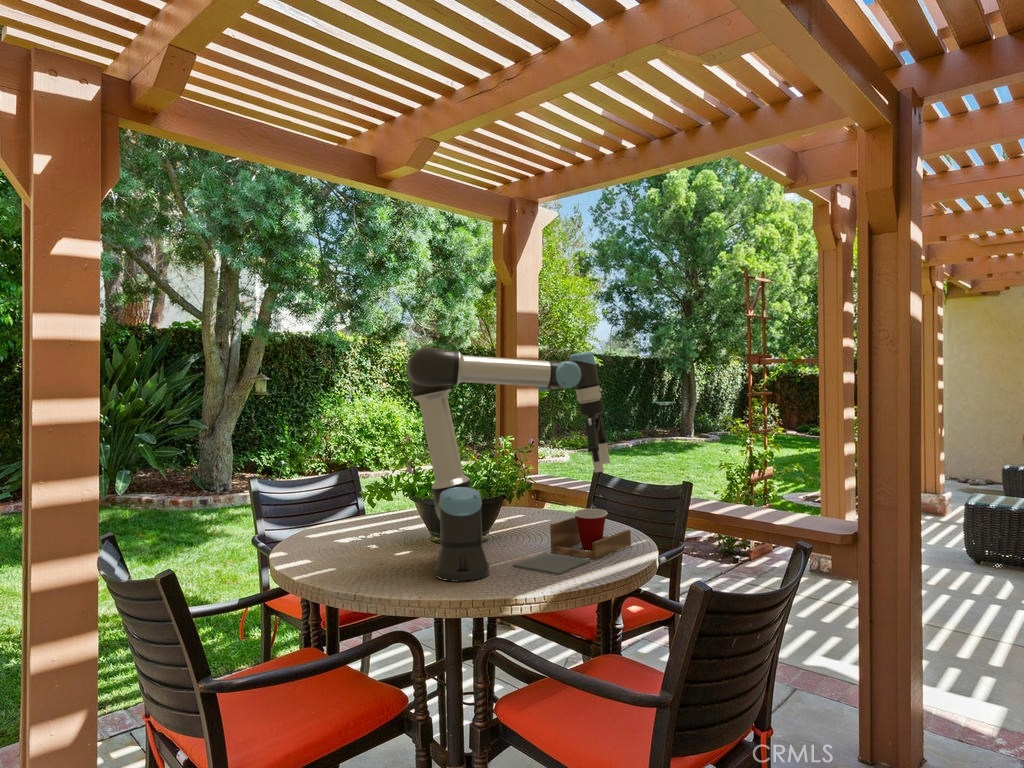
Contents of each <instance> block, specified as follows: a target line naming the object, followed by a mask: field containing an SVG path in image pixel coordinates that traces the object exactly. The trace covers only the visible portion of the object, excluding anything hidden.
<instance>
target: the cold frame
mask: <svg viewBox="0 0 1024 768" xmlns="http://www.w3.org/2000/svg"><path fill="white" fill-rule="evenodd" d="M549 525H550V526H549V529H550V530H549V531H550V533H549V534H550V554H553V555H560V556H567V555H569V556H568V557H574V556H577V557H576V558H580V557H584V558H583V559H586V558H590V559H589V560H593V559H598V560H599V558H600V559H602V558H604V557H603V556H605V555H607V556H609V555H608V554H610V553H612V554H614V553H613V552H615V551H617V550H619V551H621V550H620V549H622V548H624V549H626V548H625V547H627V546H629V547H631V546H632V539H631V538H632V537H631V534H632V533H631V529H626V530H624V531H620V532H617V533H615V534H613V535H612V534H611V535H610V536H605V535H603V539H601V540H598V541H596V542H593V543H592V549H593V551H585V550H583V549H577V548H573V547H572V546H574V545H576V546H578V545H577V544H579V545H581V544H580V543H581V539H580V535H579V530H578V524H577V521H576V517H575V516H573V517H569V518H565V519H563V520H559V521H556V522H552V523H550V524H549ZM630 545H631V546H630ZM570 547H571V548H570ZM574 547H575V546H574ZM627 548H628V547H627ZM622 550H623V549H622ZM617 552H618V551H617ZM615 553H616V552H615ZM610 555H611V554H610ZM601 557H602V558H601ZM605 557H606V556H605Z"/></svg>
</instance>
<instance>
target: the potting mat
mask: <svg viewBox="0 0 1024 768" xmlns="http://www.w3.org/2000/svg"><path fill="white" fill-rule="evenodd" d="M589 562H590V563H591V559H586V558H579V557H573V556H566V555H560V554H554V553H543V554H542V553H541V554H539V555H537V556H533V557H532V558H529V559H526V560H525V559H524V560H523V561H520V562H517V563H515V564H513V565H512V567H513V566H515V567H514V568H517V567H519V568H518V569H522V568H524V570H528V571H534V572H539V573H545V574H550V575H551V574H552V575H555V576H556V575H557V576H561V575H564V574H565V573H568V572H570V571H572V570H575V569H578V568H579V566H580V567H582V566H584V564H585V565H587V564H590V563H589ZM586 563H587V564H586ZM581 565H582V566H581Z"/></svg>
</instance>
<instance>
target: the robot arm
mask: <svg viewBox="0 0 1024 768" xmlns="http://www.w3.org/2000/svg"><path fill="white" fill-rule="evenodd" d="M405 373H406V376H407V379H408V381H409V385H410V391H411V394H412V398H413V399H414V400H415V401H417V402H418V403H419V408H420V412H421V413H420V414H421V418H422V423H423V427H424V428H423V429H424V432H425V437H426V442H427V447H428V452H429V456H430V460H431V466H432V472H433V476H434V482H433V484H432V485H431V491H432V495H433V501H434V511H435V514H436V516H437V518H438V519H439V525H440V526H439V528H440V530H439V531H440V549H439V553H438V557H437V561H436V564H435V567H434V576H435V575H436V576H438V577H440V578H442V579H447V580H455V581H454V582H467V581H466V580H471V581H476V580H475V579H477V580H481V579H483V578H486V577H487V576H489V575H490V564H489V562H488V560H487V556H486V552H485V549H484V546H483V521H482V520H483V519H482V516H483V515H482V506H483V505H482V504H483V501H482V496H481V493H480V491H479V490H477V489H475V488H472V484H471V480H470V477H468V476H466V475H465V474H464V471H463V467H462V462H461V455H460V452H459V446H458V442H457V438H456V437H457V436H456V432H455V427H454V423H453V418H452V413H451V409H450V404H449V403H450V402H449V397H448V396H449V394H450V393H451V391H452V387H451V386H458V385H459V384H461V383H470V384H471V383H472V384H488V385H489V384H491V385H507V386H513V385H514V386H525V387H526V386H527V387H528V386H529V387H536V388H537V389H538V390H539V391H540V392H545V391H550V390H551V391H552V390H556V389H571V388H574V389H575V392H576V398H577V399H576V400H577V402H578V403H579V404H578V408H579V414H580V415H581V416H587V418H585V424H586V425H585V426H586V435H587V445H588V446H587V447H588V449H587V452H588V453H590V454H591V459H592V460H591V462H592V465H593V470H594V473H601V472H604V471H605V470H604V465H606V464H611V458H610V457H611V456H610V453H609V452H610V451H609V449H608V443H609V442H610V441H609V438H608V436H607V433H606V431H605V427H604V423H603V419H602V414H601V413H602V412H604V411H605V406H604V403H603V400H602V399H601V398H602V393H601V392H603V389H602V387H600V383H599V377H598V371H597V364H596V360H595V357H594V353H593V352H592V351H589V350H588V351H583V352H579V353H573V354H570V355H569V360H566V361H554V360H553V361H550V360H539V359H538V360H537V359H525V358H522V359H521V358H511V357H510V358H506V357H493V356H492V357H491V356H478V355H465V354H462V353H461V352H460V351H458V350H456V351H455V350H447V349H441V348H436V347H431V346H430V347H429V346H428V347H427V346H425V347H422V348H419V349H417V350H416V351H415V352H414V353H412V355H410V356H409V359H408V361H407V363H406V368H405ZM436 576H435V577H436ZM480 578H481V579H480ZM456 580H457V581H456Z"/></svg>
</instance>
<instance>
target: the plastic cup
mask: <svg viewBox="0 0 1024 768" xmlns="http://www.w3.org/2000/svg"><path fill="white" fill-rule="evenodd" d="M573 515H574V516H573V517H576V521H577V524H578V530H579V535H580V539H581V544H580V545H581V548H582V550H583V549H584V550H588V551H589V550H590V551H592V552H593V549H592V543H593V542H596V541H598V540H601V539H603V536H604V530H605V523H606V519H607V515H608V511H607V510H604V509H600V508H582V509H578V510H575V511H574V512H573Z"/></svg>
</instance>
